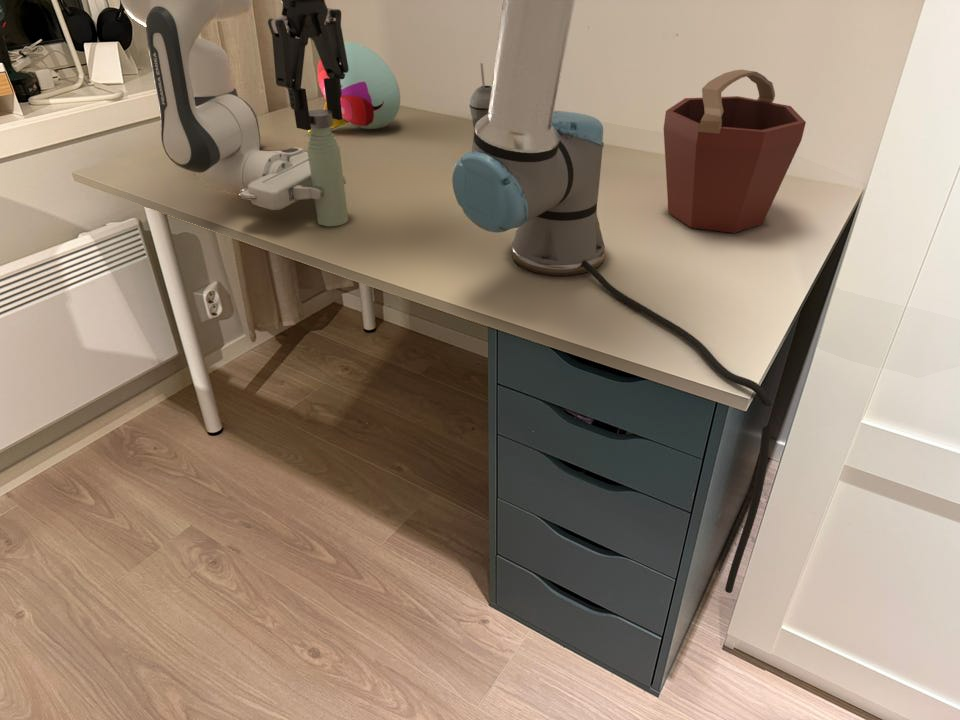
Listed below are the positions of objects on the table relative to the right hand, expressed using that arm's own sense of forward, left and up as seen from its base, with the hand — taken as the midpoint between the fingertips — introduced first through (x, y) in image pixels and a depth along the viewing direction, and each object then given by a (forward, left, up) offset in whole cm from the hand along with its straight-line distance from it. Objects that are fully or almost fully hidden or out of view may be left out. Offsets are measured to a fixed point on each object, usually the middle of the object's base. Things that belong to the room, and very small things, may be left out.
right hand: (320, 123), depth 121 cm
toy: (+57, -18, -18) cm, 62 cm away
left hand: (-1, -1, -11) cm, 11 cm away
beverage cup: (+21, -40, -18) cm, 48 cm away
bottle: (0, 0, -18) cm, 18 cm away
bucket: (-25, -66, -18) cm, 73 cm away
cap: (0, 0, +1) cm, 1 cm away
